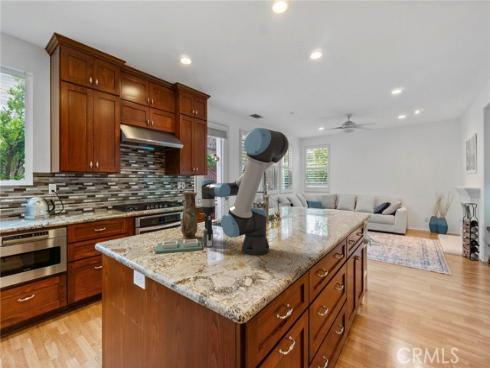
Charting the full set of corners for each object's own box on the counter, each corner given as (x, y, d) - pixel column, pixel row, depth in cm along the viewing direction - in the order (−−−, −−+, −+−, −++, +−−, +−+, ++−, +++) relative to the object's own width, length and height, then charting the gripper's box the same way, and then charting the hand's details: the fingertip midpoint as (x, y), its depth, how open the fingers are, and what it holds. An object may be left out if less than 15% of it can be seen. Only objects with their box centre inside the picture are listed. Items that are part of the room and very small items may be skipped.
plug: (212, 244, 136) (212, 228, 136) (212, 246, 132) (212, 230, 132) (203, 244, 135) (203, 228, 134) (204, 246, 131) (204, 230, 131)
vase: (187, 234, 157) (187, 191, 156) (200, 236, 153) (200, 191, 152) (177, 238, 147) (177, 192, 146) (192, 240, 144) (192, 192, 142)
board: (200, 242, 139) (200, 237, 139) (202, 249, 126) (202, 244, 126) (158, 245, 133) (158, 239, 133) (155, 253, 120) (155, 247, 119)
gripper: (200, 203, 144) (200, 237, 145) (203, 209, 120) (203, 249, 120) (212, 203, 146) (212, 236, 146) (217, 208, 122) (217, 248, 122)
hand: (208, 242), depth 133 cm, fingers open, 13 cm apart
